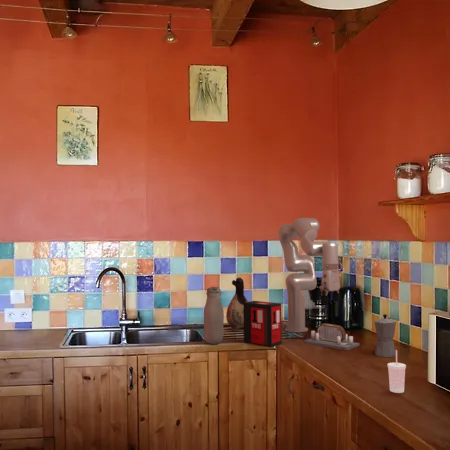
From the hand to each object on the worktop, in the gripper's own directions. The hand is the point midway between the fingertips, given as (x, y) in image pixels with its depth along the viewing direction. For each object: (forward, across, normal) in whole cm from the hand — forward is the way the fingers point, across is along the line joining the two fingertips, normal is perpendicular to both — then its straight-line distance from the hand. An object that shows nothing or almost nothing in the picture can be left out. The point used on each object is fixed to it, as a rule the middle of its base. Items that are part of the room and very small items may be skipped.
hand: (330, 302), depth 252 cm
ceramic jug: (+21, -3, +56) cm, 60 cm away
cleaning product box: (+21, -21, +26) cm, 39 cm away
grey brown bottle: (+21, -37, +44) cm, 61 cm away
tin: (+19, -1, -1) cm, 19 cm away
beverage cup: (+20, -50, -56) cm, 77 cm away
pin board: (+20, -1, -1) cm, 20 cm away
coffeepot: (+20, -3, -30) cm, 36 cm away
